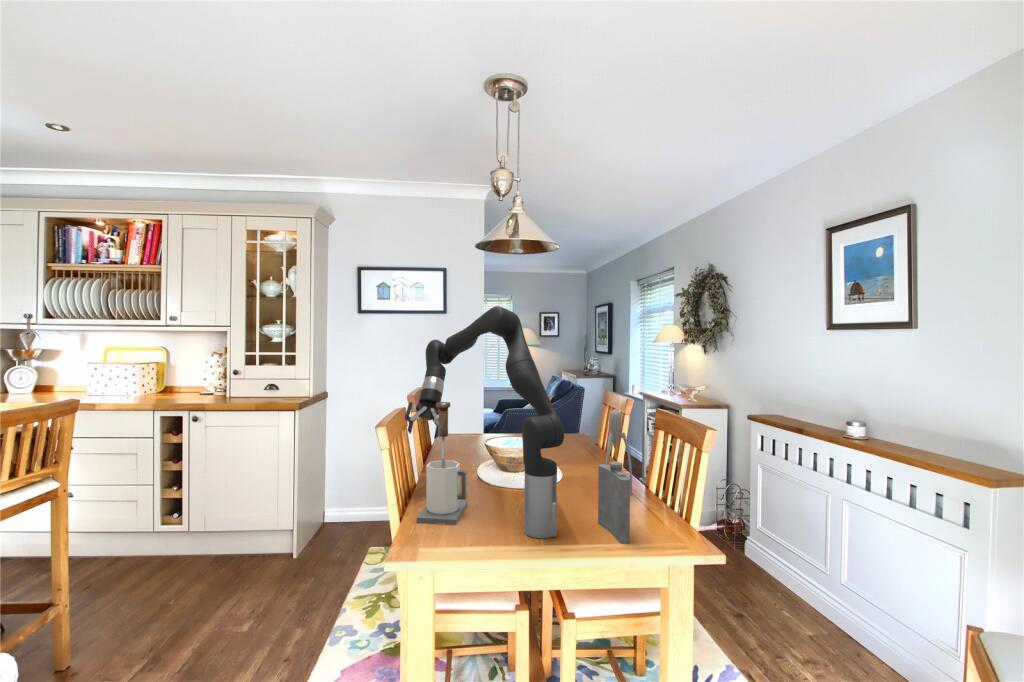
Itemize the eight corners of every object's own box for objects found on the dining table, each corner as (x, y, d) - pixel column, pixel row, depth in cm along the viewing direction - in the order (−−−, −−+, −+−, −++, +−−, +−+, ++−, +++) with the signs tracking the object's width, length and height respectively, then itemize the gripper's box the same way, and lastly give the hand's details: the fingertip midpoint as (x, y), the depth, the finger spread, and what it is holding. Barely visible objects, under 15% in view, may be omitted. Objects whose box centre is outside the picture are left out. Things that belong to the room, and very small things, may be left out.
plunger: (458, 472, 160) (458, 401, 159) (452, 479, 152) (452, 405, 152) (434, 471, 161) (434, 400, 160) (427, 478, 153) (427, 404, 153)
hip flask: (596, 522, 151) (596, 456, 151) (608, 520, 152) (609, 455, 152) (620, 544, 136) (621, 471, 135) (634, 542, 137) (635, 470, 136)
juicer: (632, 501, 169) (633, 412, 168) (605, 499, 171) (606, 411, 170) (631, 491, 179) (632, 407, 178) (605, 489, 181) (606, 406, 180)
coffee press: (471, 505, 164) (471, 458, 164) (460, 524, 148) (460, 472, 148) (431, 503, 166) (431, 457, 165) (416, 522, 150) (416, 471, 149)
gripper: (412, 383, 173) (402, 427, 164) (453, 391, 175) (445, 435, 167) (410, 392, 179) (400, 435, 171) (450, 400, 181) (442, 443, 173)
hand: (422, 435), depth 169 cm, fingers open, 8 cm apart
